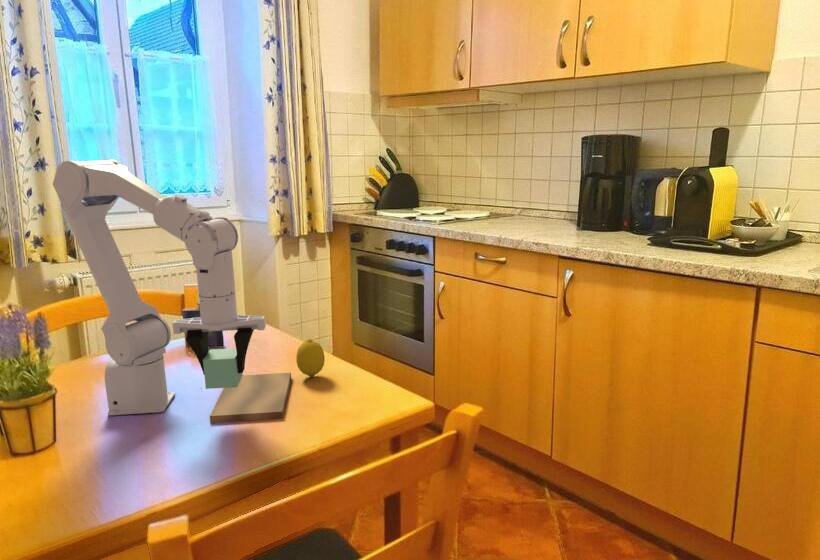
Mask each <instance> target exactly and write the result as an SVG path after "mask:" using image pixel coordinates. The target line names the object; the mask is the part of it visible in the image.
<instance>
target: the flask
mask: <svg viewBox="0 0 820 560" xmlns="http://www.w3.org/2000/svg"><path fill="white" fill-rule="evenodd" d="M196 305H197V306H198V307H188V308H187V307H186V308H183V309H182V311H181V315H182V319H189V318H197V317H201V314H200V303H199V302H196ZM223 332H224V331H208V348H221V347H224V344H225V341H224V333H223ZM183 333H184V343H185V346H186V347H188V348H191V347H190V346H189V345H188V344H187V342H186V337H187V332H183Z"/></svg>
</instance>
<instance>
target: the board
mask: <svg viewBox="0 0 820 560" xmlns="http://www.w3.org/2000/svg"><path fill="white" fill-rule="evenodd" d="M291 382H292V372H280V373H277V372H276V373H261V374H258V373H257V374H244V375H243V376H242V378H241V380H240V382H239V384H238V386H237V387H233V388H222V390H221V392H220V394H219V396H218V398H217V401H216V402H215V404H214V407H213V409H211V410H212V411H211V413H210V415H209V422H210V424H211V423H212V424H213V423H224V422H225V423H226V422H227V423H228V422H241V421H244V422H245V421H256V420H257V421H259V420H260V421H261V420H275V419H283V417H284V414H285V409H286V404H287V399H288V397H289V396H288V394H289V391H290V387H291Z"/></svg>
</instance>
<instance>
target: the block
mask: <svg viewBox="0 0 820 560" xmlns="http://www.w3.org/2000/svg"><path fill="white" fill-rule="evenodd" d="M208 351H209V352H208V354H207V355H206V356H205V358H204V359H203V365H204V374H203V376H204V384H205V389H223V388H233V387H237V386H238V384H239V382H240V380H241V378H242V376H243V373H238V368H237V351H236V348H216V349H215V348H213V349H212V348H211V349H209V350H208Z"/></svg>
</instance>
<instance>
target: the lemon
mask: <svg viewBox="0 0 820 560" xmlns="http://www.w3.org/2000/svg"><path fill="white" fill-rule="evenodd" d="M325 357H326V356H325V353H324V349H323V347H322V345H321V344H320V343H319V342H317V341H315V340H312V338H309V339H307V340H305V341H303V342H302V343H301V344H300V345H299V347H298V348H297V352H296V358H295V359H296V364H297V365H296V366H297V368H298V370H299V371H300V372H301V373H302V374H303V375H306V376H308V377H309V378H314V376H315V375H317V374H318V373H320V372H321V371H322V370H323V368H324V365H325V359H326V358H325Z"/></svg>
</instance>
